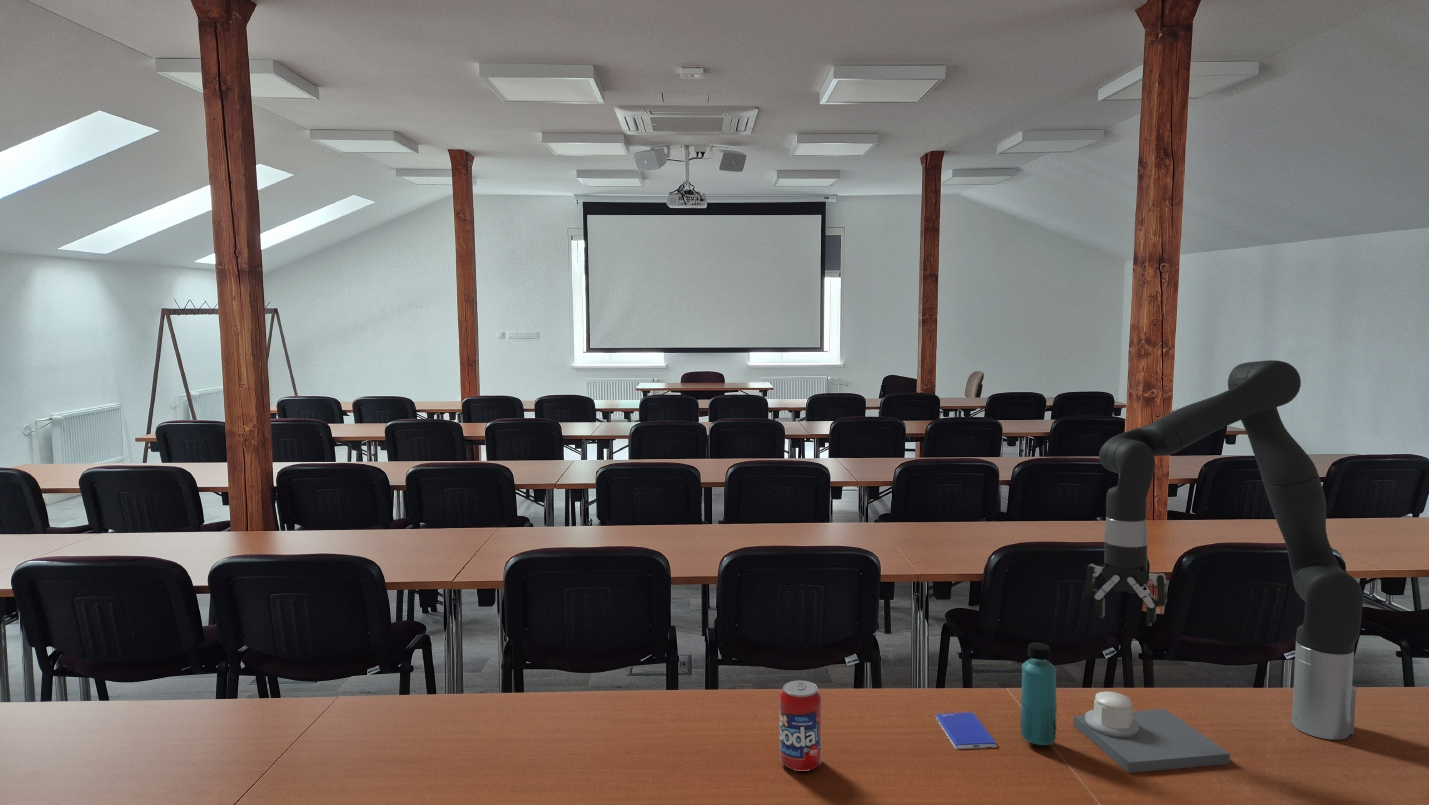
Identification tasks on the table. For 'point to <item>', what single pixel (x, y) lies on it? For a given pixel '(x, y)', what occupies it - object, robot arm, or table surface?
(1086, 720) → the threaded post stand
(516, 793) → the table surface
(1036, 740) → the beverage bottle
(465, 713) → the table surface
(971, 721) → the hard drive
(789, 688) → the soda can
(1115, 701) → the cap
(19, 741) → the table surface
